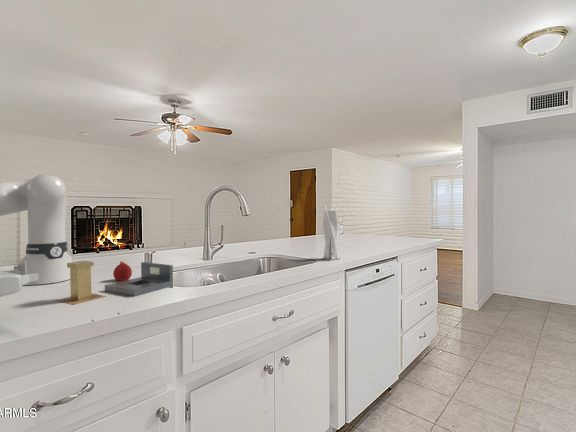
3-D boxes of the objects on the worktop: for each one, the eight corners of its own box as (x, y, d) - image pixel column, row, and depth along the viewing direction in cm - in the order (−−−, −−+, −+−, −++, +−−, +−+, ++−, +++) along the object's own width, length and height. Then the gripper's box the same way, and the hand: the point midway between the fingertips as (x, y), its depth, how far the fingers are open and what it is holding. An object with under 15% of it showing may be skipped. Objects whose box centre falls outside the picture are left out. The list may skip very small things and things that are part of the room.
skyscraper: (318, 258, 163) (318, 205, 163) (329, 257, 169) (328, 205, 168) (331, 260, 157) (331, 205, 157) (341, 259, 163) (341, 205, 162)
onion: (127, 280, 115) (127, 259, 115) (134, 283, 111) (134, 260, 111) (110, 283, 111) (110, 261, 110) (117, 286, 107) (117, 263, 107)
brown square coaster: (54, 304, 86) (54, 300, 86) (88, 296, 94) (88, 292, 94) (72, 309, 82) (72, 304, 82) (106, 300, 90) (106, 296, 90)
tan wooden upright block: (67, 299, 87) (67, 263, 87) (84, 295, 91) (84, 260, 91) (77, 301, 85) (76, 264, 85) (94, 297, 89) (93, 261, 89)
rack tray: (104, 294, 96) (104, 268, 96) (144, 284, 109) (144, 262, 108) (134, 300, 90) (133, 273, 89) (173, 289, 102) (172, 265, 102)
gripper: (-69, 296, 70) (9, 283, 82) (-34, 309, 60) (48, 292, 72) (-70, 268, 70) (8, 259, 82) (-36, 276, 60) (48, 264, 72)
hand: (27, 274), depth 77 cm, fingers open, 8 cm apart
